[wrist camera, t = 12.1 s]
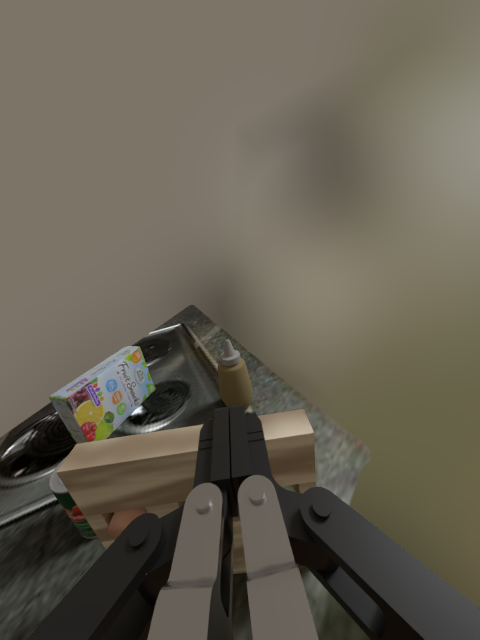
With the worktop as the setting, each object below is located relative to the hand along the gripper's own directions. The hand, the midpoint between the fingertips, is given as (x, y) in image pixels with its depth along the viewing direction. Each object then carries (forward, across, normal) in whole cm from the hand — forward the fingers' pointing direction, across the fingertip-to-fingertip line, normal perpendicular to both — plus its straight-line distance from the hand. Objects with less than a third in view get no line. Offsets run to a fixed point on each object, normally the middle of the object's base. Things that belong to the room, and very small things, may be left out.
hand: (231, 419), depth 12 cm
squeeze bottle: (+36, +2, +32) cm, 48 cm away
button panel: (+11, +5, +31) cm, 34 cm away
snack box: (+39, +33, +32) cm, 60 cm away
